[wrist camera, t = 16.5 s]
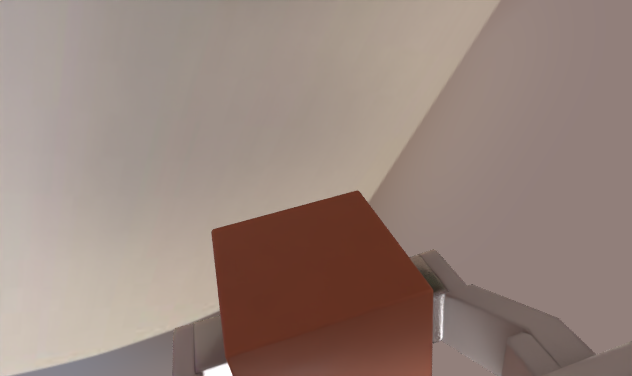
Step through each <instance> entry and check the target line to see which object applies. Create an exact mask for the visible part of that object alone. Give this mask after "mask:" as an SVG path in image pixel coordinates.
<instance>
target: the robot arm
mask: <svg viewBox="0 0 632 376" xmlns="http://www.w3.org/2000/svg"><path fill="white" fill-rule="evenodd" d="M409 258H410V259H411V261H412V262H413V263H414V265H415V266H416V267H417V269H418V270H419V271H420V273H421V274H422V275H423V277H424V278H425V279H426V281H427V282H428V283H429V285H430V286H431V287H432V289H433V338H432V343H435V342H439V341H442V340H443V342H444V343H446V344H447V345H449V346H450V347H452V348H453V349H455V350H457V351H458V352H460V353H461V354H463V355H465V356H466V357H468V358H469V359H471V360H473V361H474V362H476V363H478V364H479V365H481V366H482V367H484V368H485V369H487V370H489V371H490V372H492V373H493V374H495V375H497V376H632V341H631V342H628V343H626V344H623V345H621V346H618V347H615V348H613V349H610V350H607V351H605V352H602V353H599V354H597V355H596V354H595V353H594V352H593V351H592V350H591V349H590V348H589V347H588V346H587V345H586V344H585V343H584V342H583V341H582V340H581V339H580V338H579V337H577V335H576V334H574V333H573V332H572V331H571V330H570V329H569V328H568V327H567V326H566V325H565V324H564V323H563V322H562V321H561V320H560V319H559V318H557V317H554V316H552V315H549V314H547V313H544V312H542V311H539V310H536V309H534V308H531V307H529V306H526V305H524V304H521V303H518V302H516V301H514V300H511V299H508V298H506V297H503V296H501V295H498V294H496V293H493V292H491V291H488V290H486V289H483V288H480V287H478V286H475V285H473V284H471V285H468V286H467V285H466V284H465V282H464V281H463V280H462V279H461V278H460V277H459V276H458V275H457V273H456V272H455V271H454V270H453V269H452V268H451V266H450V265H449V264H448V263H447V262H446V261H445V260H444V258H443V257H442V256H441V255H440V254H439V253H438V252H437V251H436V250H434V249H433V250H430V251H427V252H424V253H421V254H418V255H414V256H411V257H409ZM172 376H232V373H231V371H230V368H229V366H228V363H227V360H226V358H225V351H224V342H223V333H222V324H221V315H219V316H215V317H212V318H208V319H205V320H201V321H197V322H195V323H192V324H188V325H185V326H181V327H177V328H175V330H174V333H173V370H172Z"/></svg>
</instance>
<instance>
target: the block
mask: <svg viewBox="0 0 632 376" xmlns="http://www.w3.org/2000/svg"><path fill="white" fill-rule="evenodd" d="M211 233H212V242H213V251H214V260H215V269H216V278H217V287H218V297H219V306H220V315H221V324H222V333H223V342H224V351H225V358H226V360H227V363H228V366H229V368H230V371H231V373H232V376H432V338H433V289H432V287H431V286H430V285H429V283H428V282H427V281H426V279H425V278H424V277H423V275H422V274H421V273H420V271H419V270H418V269H417V267H416V266H415V265H414V263H413V262H412V261H411V259H410V258H409V257H408V255H407V254H406V253H405V251H404V250H403V249H402V247H401V246H400V245H399V243H398V242H397V241H396V239H395V238H394V237H393V235H392V234H391V233H390V232H389V230H388V229H387V227H386V226H385V225H384V224H383V222H382V221H381V220H380V218H379V217H378V215H377V214H376V213H375V212H374V210H373V209H372V208H371V206H370V205H369V204H368V202H367V201H366V200H365V198H364V197H363V196H362V194H361V193H360V192H359V191H353V192H350V193H346V194H342V195H339V196H335V197H331V198H327V199H324V200H320V201H316V202H313V203H309V204H305V205H302V206H298V207H294V208H290V209H287V210H283V211H279V212H276V213H272V214H268V215H264V216H261V217H257V218H253V219H250V220H246V221H242V222H238V223H235V224H231V225H227V226H224V227H220V228H216V229H213V230H212V232H211Z"/></svg>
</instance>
